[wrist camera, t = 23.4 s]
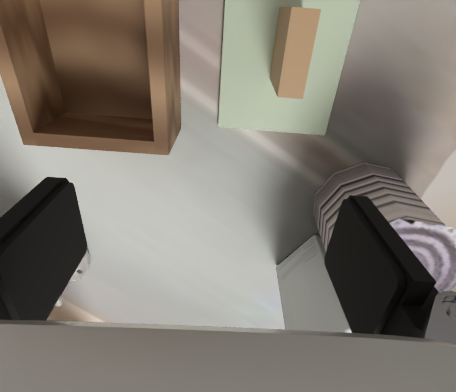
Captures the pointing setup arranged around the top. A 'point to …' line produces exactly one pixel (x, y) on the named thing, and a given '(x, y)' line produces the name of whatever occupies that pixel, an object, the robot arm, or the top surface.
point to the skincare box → (309, 291)
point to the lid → (283, 63)
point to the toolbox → (93, 73)
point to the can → (391, 216)
